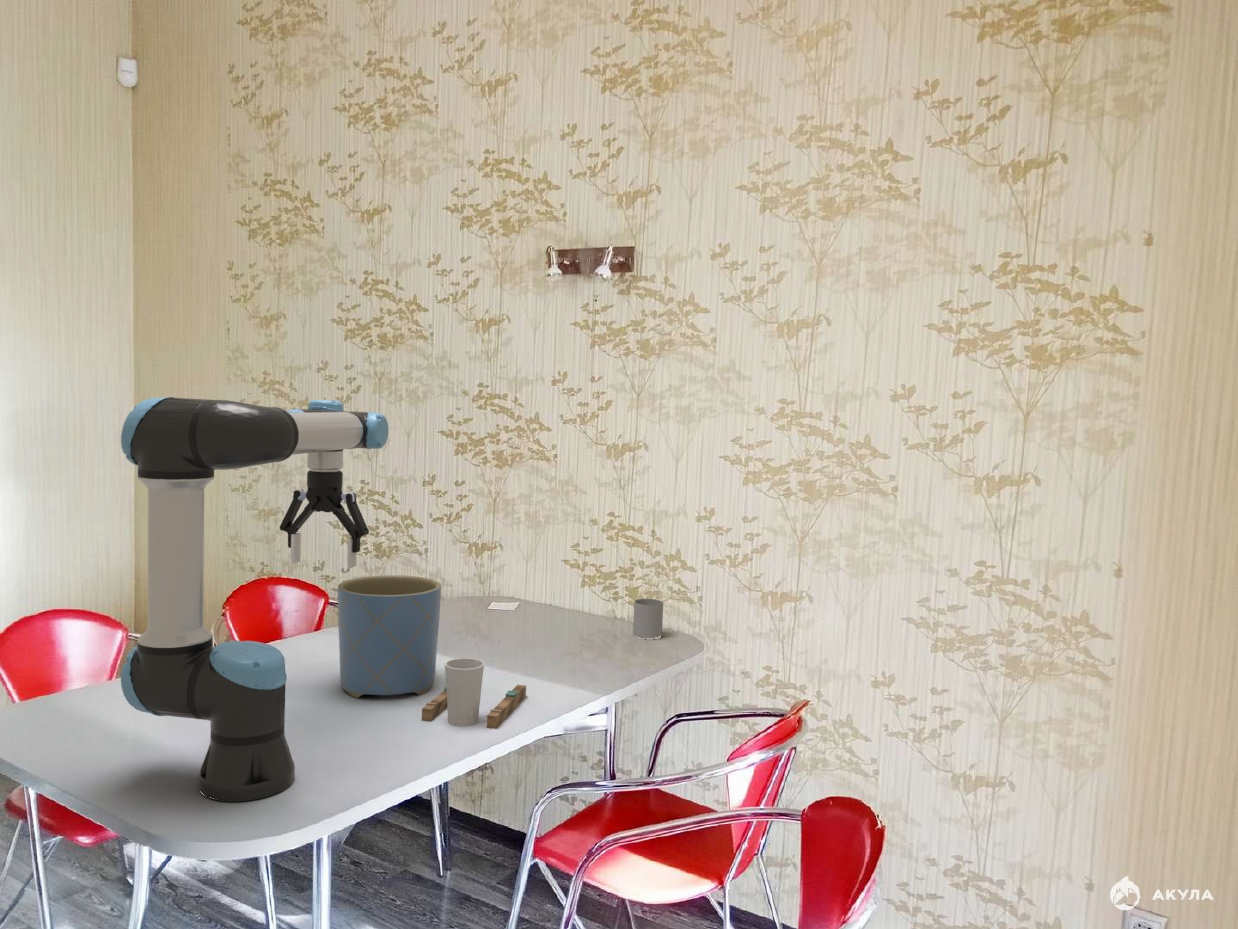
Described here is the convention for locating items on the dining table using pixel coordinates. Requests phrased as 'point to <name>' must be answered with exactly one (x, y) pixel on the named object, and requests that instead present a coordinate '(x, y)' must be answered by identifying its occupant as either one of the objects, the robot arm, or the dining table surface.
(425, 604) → the planter
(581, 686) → the dining table surface
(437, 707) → the channel
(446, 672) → the cup
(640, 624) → the cup
